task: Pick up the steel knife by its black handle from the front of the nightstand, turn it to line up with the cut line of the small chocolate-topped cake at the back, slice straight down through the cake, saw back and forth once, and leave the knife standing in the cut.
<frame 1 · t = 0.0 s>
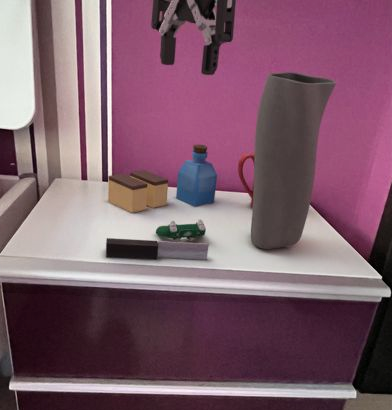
hand: (187, 69, 83), 31 cm above the table, tool pointing down, fingers open, 8 cm apart
vase: (270, 244, 111), on the table
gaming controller: (181, 240, 108), on the table
mug: (259, 208, 129), on the table
perfume bottle: (194, 201, 129), on the table
knife: (131, 255, 100), on the table
cake: (137, 203, 123), on the table
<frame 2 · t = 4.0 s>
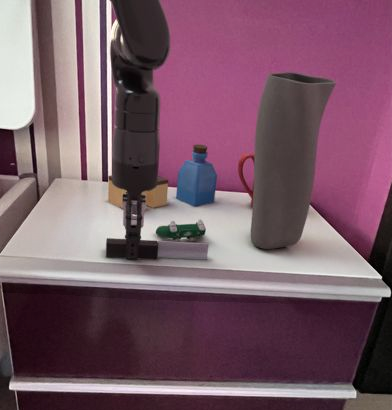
hand: (131, 255, 100), 0 cm above the table, tool pointing down, fingers closed on knife, 2 cm apart
knife: (131, 255, 100), on the table, touching gripper
everything else where it was.
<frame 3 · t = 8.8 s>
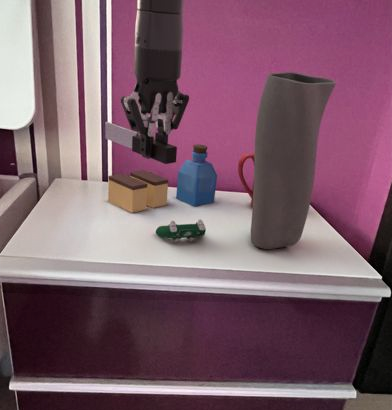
hand: (153, 156, 98), 16 cm above the table, tool pointing down, fingers closed on knife, 2 cm apart
knife: (153, 156, 98), point 16 cm above the table, touching gripper
everything else where it was.
when the fingers open (0 cm above the table, at t = 13.9 s): knife stays where it is, on the table.
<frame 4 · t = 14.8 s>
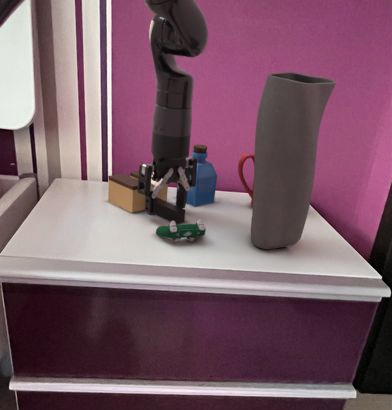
hand: (165, 210, 117), 1 cm above the table, tool pointing down, fingers open, 8 cm apart
knife: (165, 216, 118), on the table
everything else where it was.
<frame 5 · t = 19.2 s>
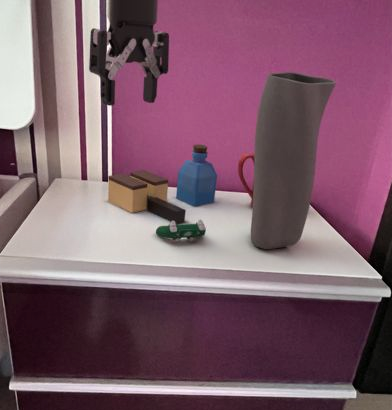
hand: (129, 103, 92), 24 cm above the table, tool pointing down, fingers open, 8 cm apart
nothing on the table moved.
at the end: knife 0.1 cm from the target spot on the table beside the cake, on the table; knife tilted 0°; the gripper is holding nothing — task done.
